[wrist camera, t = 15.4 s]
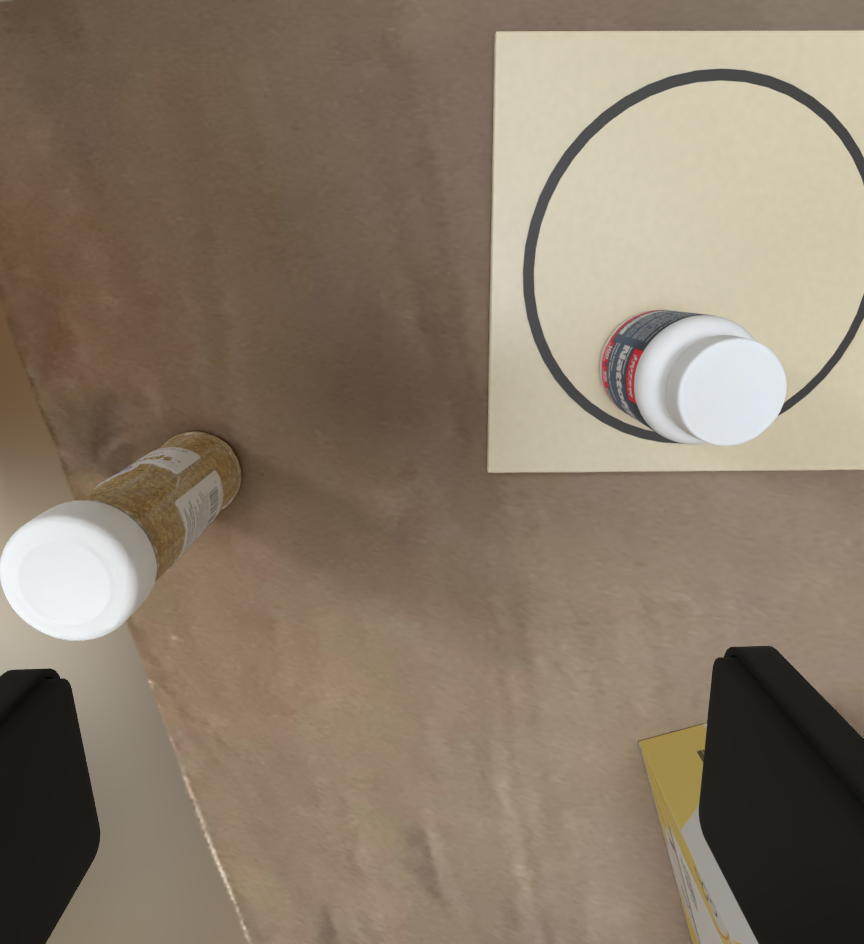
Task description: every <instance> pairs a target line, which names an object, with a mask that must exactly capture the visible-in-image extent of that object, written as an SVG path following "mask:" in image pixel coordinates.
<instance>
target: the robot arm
mask: <svg viewBox="0 0 864 944" xmlns="http://www.w3.org/2000/svg"><path fill="white" fill-rule="evenodd" d="M699 821H700V826H701V830H702V833H703V836H704V838H705V840H706V842H707V844H708V846H709V848H710V850H711V852H712V854H713V856H714V858H715V860H716V862H717V864H718V866H719V868H720V870H721V872H722V874H723V875H724V877H725V879H726V881H727V883H728V885H729V887H730V889H731V891H732V893H733V895H734V897H735V899H736V901H737V903H738V905H739V907H740V909H741V911H742V913H743V915H744V917H745V918H746V920H747V922H748V924H749V926H750V928H751V930H752V932H753V934H754V936H755V938H756V940H757V942H758V944H864V739H863V738H862V737H861V736H860V735H859V734H858V733H857V732H856V731H855V730H854V729H853V728H852V727H851V726H850V725H849V724H848V722H847V721H846V720H845V719H844V718H843V717H842V716H841V715H840V714H839V713H838V712H837V711H836V710H835V709H834V708H833V707H832V706H831V705H830V704H829V703H828V702H827V701H826V700H825V699H824V698H823V697H822V696H821V695H820V694H819V693H818V692H817V691H816V690H815V689H814V688H813V687H812V686H811V685H810V684H809V683H808V682H807V681H806V679H805V678H804V677H803V676H802V675H801V674H800V673H799V672H798V671H797V670H796V669H795V668H794V667H793V666H792V665H791V664H790V663H789V662H788V661H787V660H786V659H785V658H784V657H783V656H782V655H781V654H780V653H779V652H778V651H777V650H776V649H775V648H773V647H771V646H750V647H730V648H729V649H727V651H726V653H725V656H724V658H717V659H716V660H715V662H714V665H713V672H712V682H711V692H710V701H709V711H708V721H707V731H706V741H705V751H704V761H703V770H702V780H701V790H700V800H699ZM99 841H100V827H99V822H98V817H97V812H96V807H95V802H94V797H93V792H92V787H91V782H90V777H89V773H88V767H87V762H86V757H85V752H84V748H83V743H82V738H81V733H80V728H79V723H78V718H77V713H76V708H75V704H74V698H73V693H72V688H71V686H70V683H69V682H68V680H66V679H60V676H59V675H58V673H57V672H56V671H55V670H53V669H25V670H10V671H7V672H6V673H4V674H3V675H1V676H0V944H46V942H47V940H48V938H49V937H50V935H51V933H52V931H53V930H54V928H55V926H56V924H57V923H58V921H59V919H60V917H61V916H62V914H63V912H64V910H65V909H66V907H67V905H68V904H69V902H70V900H71V898H72V897H73V895H74V893H75V891H76V890H77V887H78V886H79V884H80V883H81V881H82V879H83V877H84V876H85V874H86V872H87V871H88V869H89V867H90V865H91V863H92V862H93V860H94V858H95V856H96V853H97V850H98V847H99Z"/></svg>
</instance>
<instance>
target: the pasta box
mask: <svg viewBox="0 0 864 944" xmlns="http://www.w3.org/2000/svg"><path fill="white" fill-rule="evenodd" d="M706 731H707V723H706V724H702V725H698V726H694V727H691V728H687V729H683V730H679V731H676V732H672V733H668V734H664V735H661V736H657V737H653V738H650V739H646V740H642V741H638V742H639V746H640V750H641V754H642V757H643V761H644V765H645V769H646V772H647V776H648V780H649V784H650V787H651V791H652V795H653V799H654V802H655V806H656V810H657V814H658V817H659V821H660V825H661V829H662V832H663V836H664V840H665V844H666V847H667V851H668V855H669V859H670V862H671V866H672V870H673V874H674V877H675V881H676V885H677V889H678V892H679V896H680V900H681V904H682V907H683V911H684V915H685V919H686V922H687V926H688V930H689V934H690V937H691V941H692V944H758V942H757V940H756V938H755V936H754V934H753V932H752V930H751V928H750V926H749V924H748V922H747V920H746V918H745V917H744V915H743V913H742V911H741V909H740V907H739V905H738V903H737V901H736V899H735V897H734V895H733V893H732V891H731V889H730V887H729V885H728V883H727V881H726V879H725V877H724V875H723V874H722V872H721V870H720V868H719V866H718V864H717V862H716V860H715V858H714V856H713V854H712V852H711V850H710V848H709V846H708V844H707V842H706V840H705V838H704V836H703V833H702V830H701V826H700V821H699V800H700V790H701V780H702V770H703V761H704V751H705V741H706Z"/></svg>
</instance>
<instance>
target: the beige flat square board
mask: <svg viewBox="0 0 864 944" xmlns="http://www.w3.org/2000/svg"><path fill="white" fill-rule="evenodd" d="M651 310H671V311H679V312H689V313H698V314H706V315H714V316H719V317H722V318H726V319H729V320H731V321H734V322H736V323H737V324H739V325H741V326H742V327H743V328H745V329H746V330H747V331H748V332H749V333H750V334H751V335H752V336H753V337H754V339H755V340H756V341H757V342H760V343H762V344H763V345H765V346H766V347H768V348H769V349H771V350H772V351H773V352H774V353H775V355H776V356H777V357H778V358H779V360H780V362H781V363H782V366H783V368H784V371H785V374H786V382H787V391H786V397H785V401H784V404H783V406H782V409H781V411H780V413H779V414H778V416H777V418H776V419H775V421H774V422H773V423H772V424H771V425H770V426H769V428H767V429H766V430H765V431H764V432H763V433H762V434H760V435H759V436H757V437H755V438H754V439H752V440H750V441H748V442H745V443H742V444H738V445H732V446H718V445H712V444H709V443H706V444H697V445H691V444H683V443H678V442H675V441H672V440H669V439H667V438H665V437H663V436H661V435H659V434H658V433H656V432H655V431H653V430H652V429H650V428H648V427H647V426H645V425H644V424H642V423H640V422H639V421H637V420H636V419H634V418H632V417H631V416H629V415H628V414H626V413H624V412H623V411H622V410H620V409H619V408H618V407H616V406H615V405H614V404H613V403H612V401H611V400H610V399H609V397H608V396H607V394H606V392H605V390H604V388H603V385H602V382H601V378H600V360H601V355H602V351H603V349H604V346H605V344H606V342H607V340H608V339H609V337H610V336H611V334H612V333H613V332H614V331H615V330H616V328H617V327H618V326H619V325H621V324H622V323H623V322H624V321H626V320H627V319H629V318H630V317H632V316H634V315H637V314H639V313H642V312H646V311H651ZM775 470H864V31H497V32H496V33H495V37H494V85H493V143H492V201H491V258H490V316H489V374H488V431H487V471H488V473H537V472H656V471H775Z"/></svg>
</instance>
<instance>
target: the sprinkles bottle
mask: <svg viewBox="0 0 864 944" xmlns="http://www.w3.org/2000/svg"><path fill="white" fill-rule="evenodd" d="M241 476H242V475H241V468H240V464H239V461H238V459H237V457H236V455H235V454H234V452H233V451H232V449H231V448H230V446H229V445H228V444H227V443H225V442H224V441H222V440H221V439H219V438H217V437H216V436H213V435H210V434H207V433H203V432H185V433H182V434H179V435H176V436H173V437H172V438H170V439H169V440H168V441H167V442H165V443H164V444H163V445H162V446H161V447H160V448H159V449H157V450H155V451H152V452H150V453H149V454H147V455H145V456H144V457H142V458H140V459H139V460H137V461H136V462H134V463H133V464H131V465H130V466H128V467H127V468H125V469H123V470H122V471H120V472H119V473H117V474H115V475H114V476H112V477H110V478H109V479H107V480H105V481H104V482H102V483H100V484H99V485H98V486H97V487H96V488H95V489H93V490H91V491H89V492H88V493H87V494H85V495H83V496H82V497H80V498H79V499H77V500H75V501H70V502H66V503H62V504H59V505H57V506H55V507H53V508H51V509H49V510H47V511H45V512H44V513H42V514H40V515H38V516H37V517H35V518H34V519H32V520H31V521H29V522H28V523H26V524H25V525H23V526H22V527H21V528H19V529H18V530H17V531H16V532H15V533H14V534H13V535H12V537H11V538H10V539H9V541H8V542H7V544H6V546H5V548H4V550H3V553H2V556H1V560H0V581H1V585H2V588H3V591H4V594H5V596H6V598H7V600H8V602H9V603H10V605H11V606H12V608H13V609H14V610H15V612H16V613H17V614H18V615H19V616H20V617H21V618H22V619H23V620H24V621H25V622H26V623H28V624H29V625H30V626H32V627H34V628H35V629H37V630H38V631H40V632H42V633H45V634H47V635H50V636H52V637H55V638H59V639H64V640H73V641H82V640H91V639H95V638H99V637H102V636H104V635H107V634H109V633H110V632H112V631H114V630H116V629H117V628H119V627H120V626H121V625H122V624H123V623H124V622H125V621H126V620H127V619H128V618H129V617H130V616H131V615H132V614H133V613H134V612H135V611H136V610H137V609H138V608H139V607H140V606H141V605H142V604H143V602H144V601H145V600H146V599H147V598H148V596H149V594H150V593H151V591H152V588H153V586H154V583H155V582H156V581H157V580H158V578H159V577H160V576H161V575H162V574H163V573H164V572H165V571H166V570H168V569H169V568H170V567H171V566H173V565H174V564H175V563H176V562H177V560H178V559H179V558H180V557H181V556H182V555H183V554H184V552H185V551H186V550H187V549H188V548H189V547H190V546H191V545H192V544H193V542H194V541H195V540H196V539H197V538H198V537H199V536H200V535H201V534H202V532H203V531H204V530H205V529H206V528H207V527H208V526H209V525H210V523H211V522H212V521H213V520H214V519H215V518H216V516H217V515H218V513H219V511H221V510H222V509H224V508H225V507H227V506H228V505H229V504H230V503H231V502H232V500H233V499H234V498H235V497H236V495H237V492H238V491H239V489H240V485H241Z"/></svg>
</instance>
